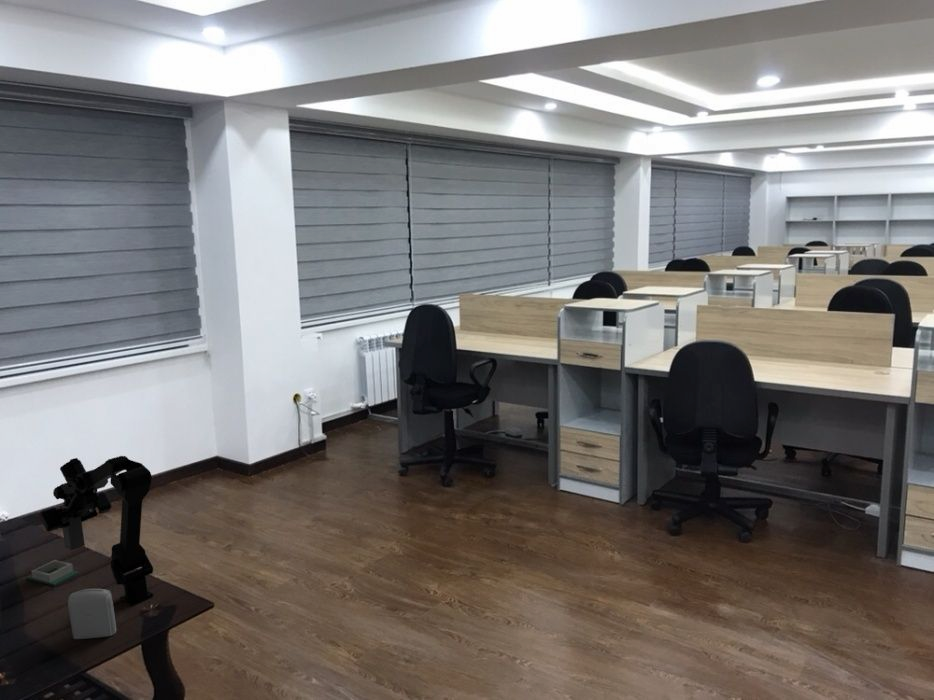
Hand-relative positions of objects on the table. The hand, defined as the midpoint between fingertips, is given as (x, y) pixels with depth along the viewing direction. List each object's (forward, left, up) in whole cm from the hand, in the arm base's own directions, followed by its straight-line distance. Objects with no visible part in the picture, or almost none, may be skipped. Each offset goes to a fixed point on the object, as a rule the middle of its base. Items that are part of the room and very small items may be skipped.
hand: (70, 524), depth 225 cm
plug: (-1, 0, -7) cm, 7 cm away
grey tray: (-3, +8, -12) cm, 15 cm away
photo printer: (-45, +17, -13) cm, 50 cm away
